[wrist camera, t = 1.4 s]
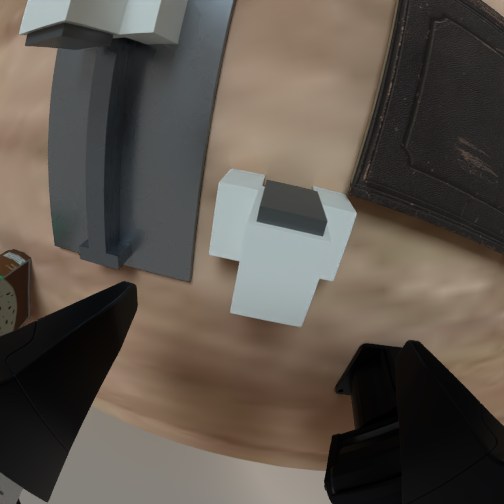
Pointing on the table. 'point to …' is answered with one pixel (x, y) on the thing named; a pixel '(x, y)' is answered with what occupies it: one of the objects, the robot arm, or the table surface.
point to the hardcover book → (440, 120)
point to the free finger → (278, 243)
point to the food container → (14, 290)
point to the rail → (135, 144)
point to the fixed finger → (101, 22)
